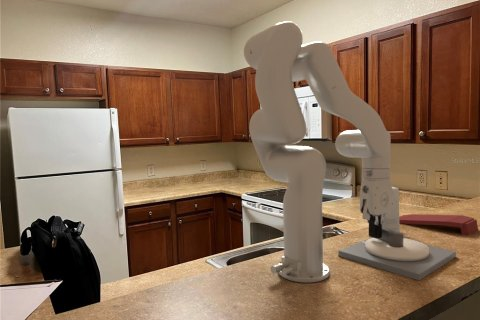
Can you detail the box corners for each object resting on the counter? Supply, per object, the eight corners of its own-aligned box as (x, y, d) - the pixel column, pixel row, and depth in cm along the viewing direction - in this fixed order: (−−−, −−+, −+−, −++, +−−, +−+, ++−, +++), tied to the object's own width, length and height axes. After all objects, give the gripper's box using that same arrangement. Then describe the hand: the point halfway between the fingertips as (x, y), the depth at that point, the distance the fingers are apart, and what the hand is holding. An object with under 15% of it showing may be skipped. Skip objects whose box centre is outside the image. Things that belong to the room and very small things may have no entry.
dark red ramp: (392, 232, 130) (466, 237, 110) (390, 219, 130) (463, 221, 110) (408, 226, 137) (480, 229, 117) (407, 214, 137) (478, 215, 117)
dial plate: (419, 280, 79) (419, 273, 79) (338, 255, 96) (338, 249, 96) (455, 256, 93) (455, 250, 93) (379, 238, 110) (379, 233, 110)
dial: (443, 256, 89) (444, 238, 88) (390, 264, 85) (390, 245, 84) (401, 238, 104) (401, 223, 104) (354, 244, 100) (354, 228, 100)
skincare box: (400, 234, 114) (400, 188, 112) (380, 235, 114) (380, 189, 113) (389, 227, 122) (389, 184, 121) (370, 228, 122) (370, 185, 121)
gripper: (372, 177, 90) (371, 245, 91) (402, 173, 99) (401, 235, 100) (348, 175, 96) (347, 239, 97) (379, 171, 105) (378, 230, 106)
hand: (375, 237), depth 99 cm, fingers closed
